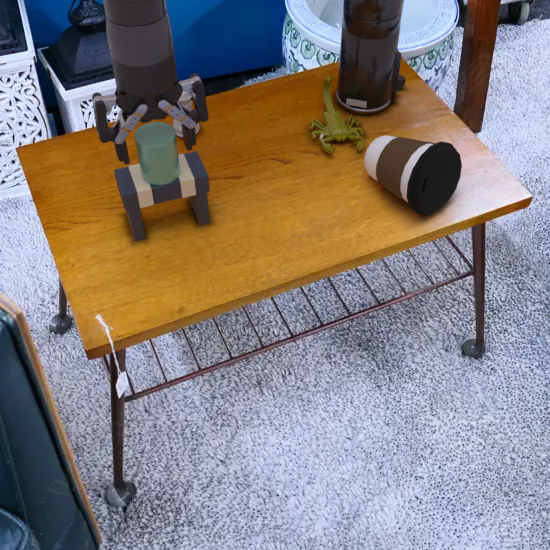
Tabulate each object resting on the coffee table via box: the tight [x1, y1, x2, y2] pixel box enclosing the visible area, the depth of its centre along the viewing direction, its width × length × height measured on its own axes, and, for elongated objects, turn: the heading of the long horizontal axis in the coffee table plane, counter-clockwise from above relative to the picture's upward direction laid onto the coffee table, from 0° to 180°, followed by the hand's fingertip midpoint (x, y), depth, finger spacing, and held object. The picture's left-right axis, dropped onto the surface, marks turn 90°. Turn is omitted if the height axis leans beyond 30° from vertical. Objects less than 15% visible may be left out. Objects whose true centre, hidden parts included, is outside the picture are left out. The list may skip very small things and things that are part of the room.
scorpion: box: [308, 76, 365, 154], centre depth 122 cm, size 9×15×6 cm, turn 11°
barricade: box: [113, 150, 211, 242], centre depth 107 cm, size 12×6×9 cm, turn 110°
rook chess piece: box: [172, 91, 201, 139], centre depth 121 cm, size 4×4×8 cm
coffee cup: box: [363, 135, 463, 215], centre depth 111 cm, size 11×11×12 cm
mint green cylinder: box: [133, 121, 180, 185], centre depth 101 cm, size 5×5×6 cm
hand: (157, 153), depth 101 cm, fingers open, 8 cm apart
